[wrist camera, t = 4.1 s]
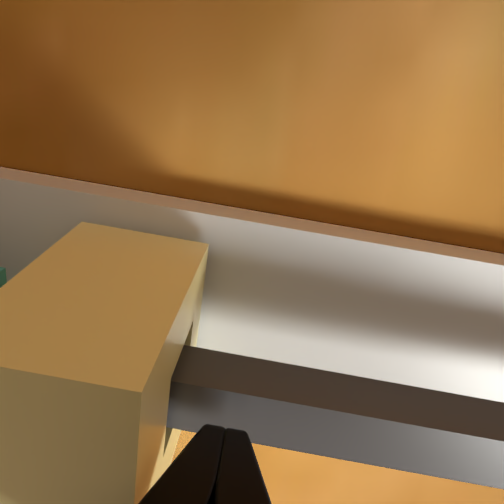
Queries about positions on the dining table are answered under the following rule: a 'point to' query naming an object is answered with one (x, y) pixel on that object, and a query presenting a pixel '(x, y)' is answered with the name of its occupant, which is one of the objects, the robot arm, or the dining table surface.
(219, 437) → the robot arm
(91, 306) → the sleeve
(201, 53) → the dining table surface
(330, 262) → the linear slide rail
